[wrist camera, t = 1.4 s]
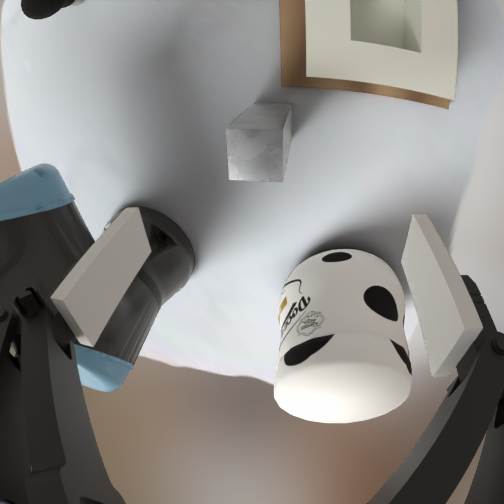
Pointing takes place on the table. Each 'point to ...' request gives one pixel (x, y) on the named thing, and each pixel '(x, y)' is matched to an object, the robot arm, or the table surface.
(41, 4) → the light bulb
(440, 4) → the well
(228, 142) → the brushed grey pillar
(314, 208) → the table surface
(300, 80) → the board
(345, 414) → the milk container
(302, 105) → the table surface
